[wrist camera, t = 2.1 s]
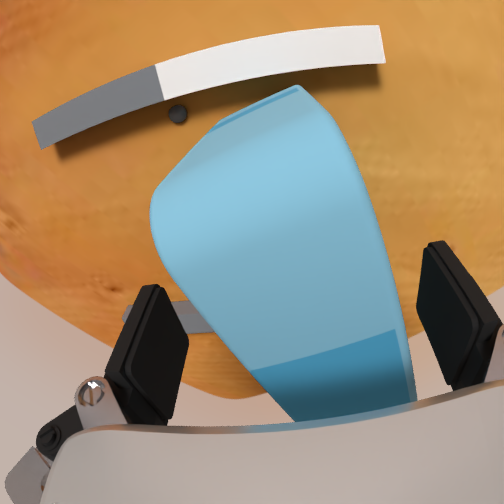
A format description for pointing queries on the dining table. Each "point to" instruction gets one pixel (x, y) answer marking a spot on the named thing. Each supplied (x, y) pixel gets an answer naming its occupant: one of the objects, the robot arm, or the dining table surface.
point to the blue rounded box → (288, 258)
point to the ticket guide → (206, 76)
